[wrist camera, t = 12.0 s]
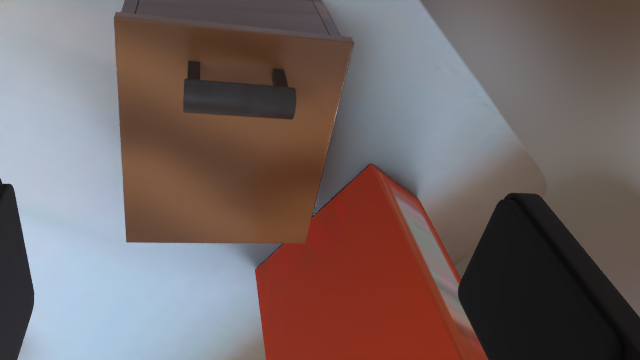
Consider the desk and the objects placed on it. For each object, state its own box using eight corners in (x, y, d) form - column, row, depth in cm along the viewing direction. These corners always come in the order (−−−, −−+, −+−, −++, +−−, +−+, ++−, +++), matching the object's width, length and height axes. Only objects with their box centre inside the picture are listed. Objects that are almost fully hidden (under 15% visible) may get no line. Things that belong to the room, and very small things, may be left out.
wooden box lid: (115, 11, 29) (102, 53, 25) (351, 37, 32) (371, 77, 28) (127, 235, 39) (119, 288, 36) (304, 236, 43) (314, 286, 39)
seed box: (133, -26, 37) (118, 19, 30) (320, -2, 40) (345, 43, 33) (138, 167, 46) (127, 234, 40) (289, 173, 50) (303, 236, 43)
